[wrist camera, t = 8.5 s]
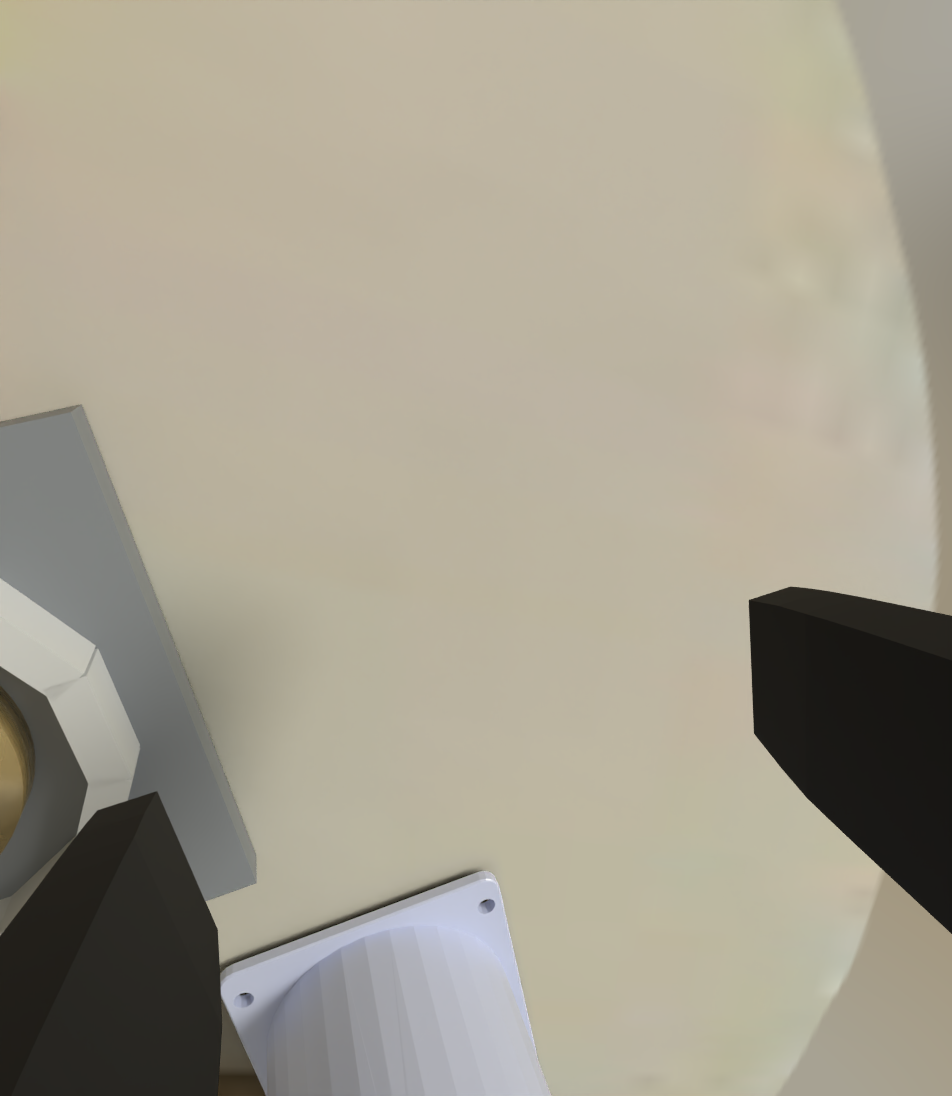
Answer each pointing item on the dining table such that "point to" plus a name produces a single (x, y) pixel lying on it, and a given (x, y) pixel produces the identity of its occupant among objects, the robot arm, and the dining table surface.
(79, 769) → the carrier plate
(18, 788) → the brass cabinet knob
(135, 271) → the dining table surface
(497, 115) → the dining table surface
